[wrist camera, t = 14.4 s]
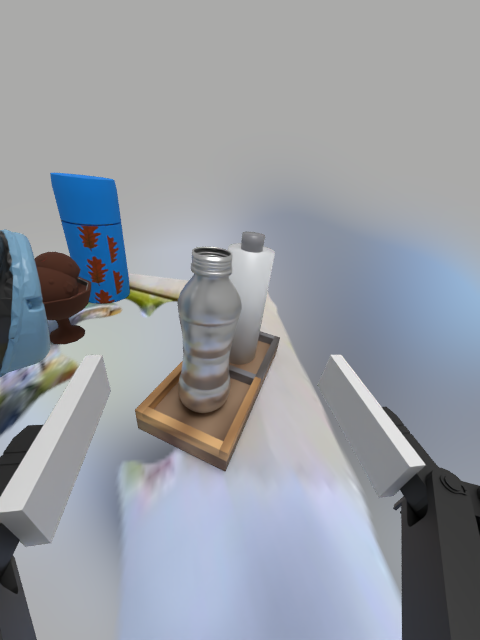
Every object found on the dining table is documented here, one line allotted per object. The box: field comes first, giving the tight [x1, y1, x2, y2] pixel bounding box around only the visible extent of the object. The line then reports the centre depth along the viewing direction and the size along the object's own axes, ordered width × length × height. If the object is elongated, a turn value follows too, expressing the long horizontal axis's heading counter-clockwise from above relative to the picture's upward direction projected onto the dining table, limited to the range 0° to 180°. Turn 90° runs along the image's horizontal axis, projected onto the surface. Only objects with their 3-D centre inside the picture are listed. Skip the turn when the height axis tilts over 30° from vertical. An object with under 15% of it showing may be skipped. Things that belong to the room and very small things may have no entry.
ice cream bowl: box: [34, 252, 91, 344], centre depth 39 cm, size 11×11×15 cm
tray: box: [135, 332, 280, 471], centre depth 37 cm, size 12×24×4 cm, turn 158°
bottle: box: [228, 232, 275, 365], centre depth 36 cm, size 6×6×20 cm
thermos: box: [50, 173, 130, 304], centre depth 52 cm, size 11×11×25 cm
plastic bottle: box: [178, 247, 242, 413], centre depth 26 cm, size 6×7×20 cm
